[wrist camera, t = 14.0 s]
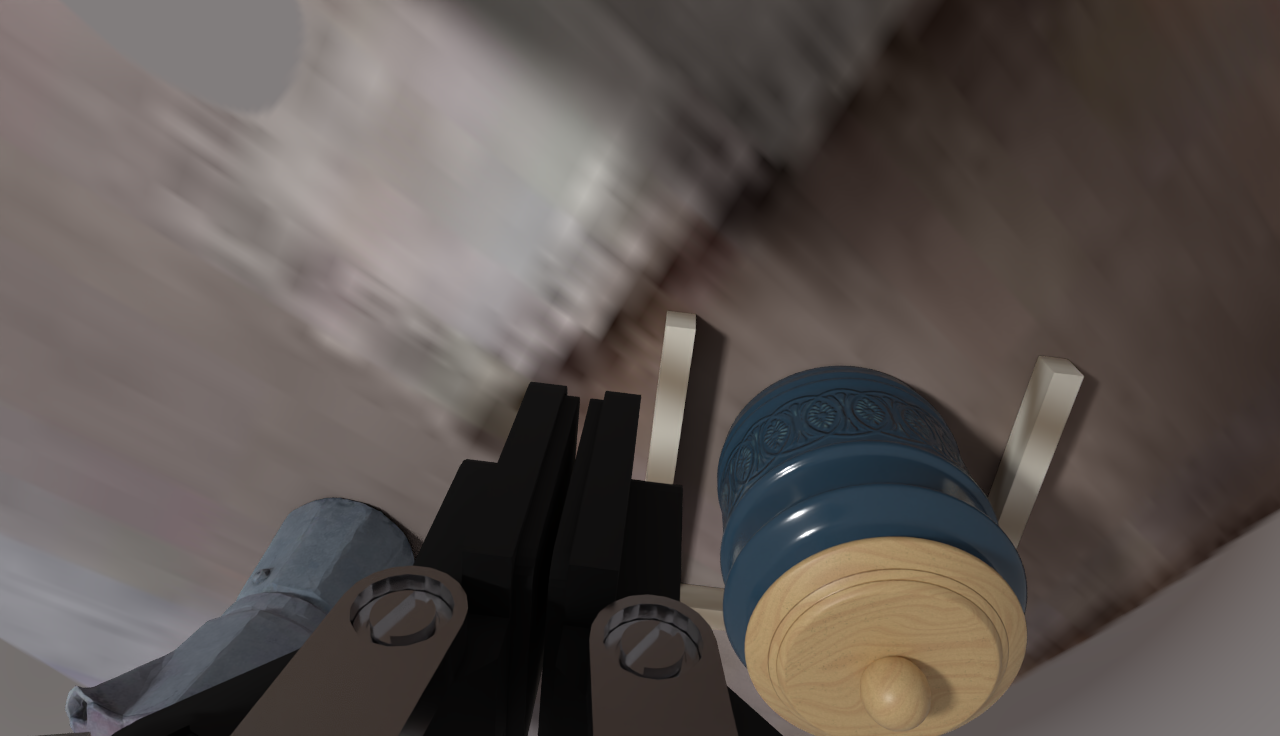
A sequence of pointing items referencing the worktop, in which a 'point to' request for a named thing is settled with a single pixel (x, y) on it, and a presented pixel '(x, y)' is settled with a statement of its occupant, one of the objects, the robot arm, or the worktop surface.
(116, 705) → the moka pot
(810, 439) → the canister
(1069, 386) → the bay frame
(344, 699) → the robot arm
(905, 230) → the worktop surface
